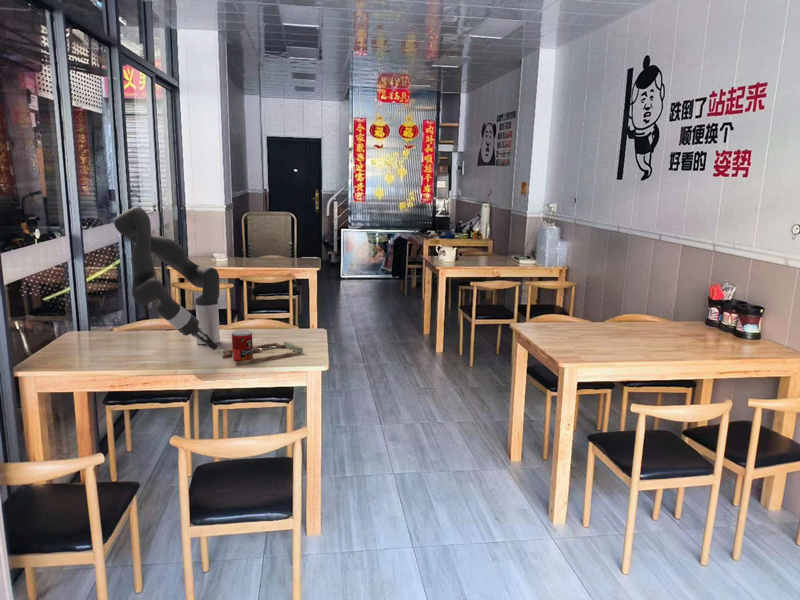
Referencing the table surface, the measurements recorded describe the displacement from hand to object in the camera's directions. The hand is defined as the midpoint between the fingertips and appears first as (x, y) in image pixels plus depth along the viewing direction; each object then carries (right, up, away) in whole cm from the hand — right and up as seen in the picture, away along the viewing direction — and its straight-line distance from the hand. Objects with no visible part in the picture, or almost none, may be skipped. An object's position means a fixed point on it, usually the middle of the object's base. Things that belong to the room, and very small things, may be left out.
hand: (215, 347), depth 230 cm
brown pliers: (+14, -4, +14) cm, 20 cm away
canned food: (+9, -5, +7) cm, 12 cm away
